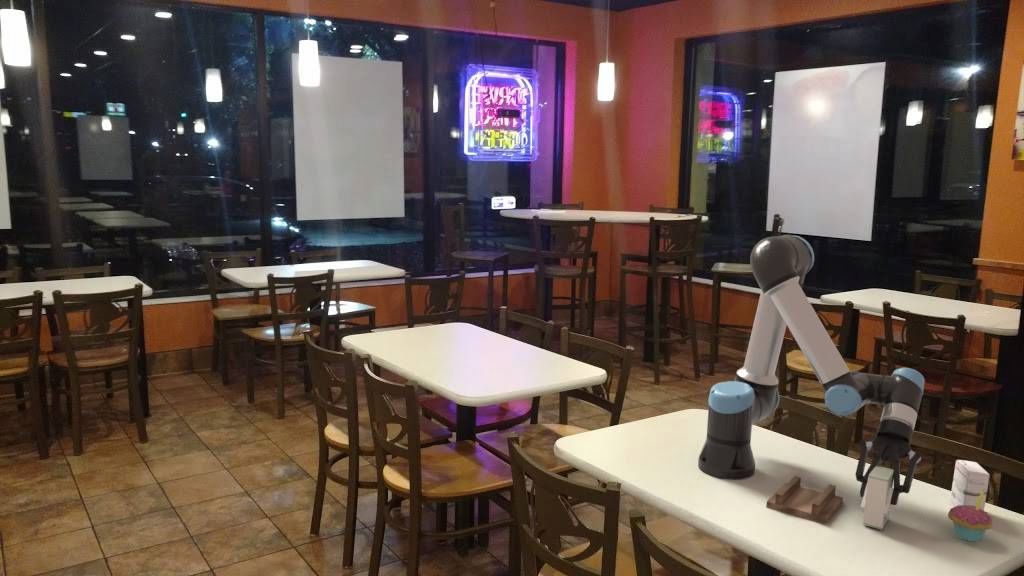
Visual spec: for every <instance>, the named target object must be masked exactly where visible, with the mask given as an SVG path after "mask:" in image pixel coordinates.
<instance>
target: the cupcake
mask: <svg viewBox="0 0 1024 576" xmlns="http://www.w3.org/2000/svg"><path fill="white" fill-rule="evenodd" d="M984 490H985V489H984ZM984 490H983V491H981V494H980V497H979V500H978V503H977V506H973V505H971V506H970V505H969V506H967V505H965V506H964V505H960V506H955V507H953V508H952V507H951V508H950V509H949V512H948V513H947V517H948V518H949V520H950V521H952V523H953V526H954V531H955V535H956V536H957V537H958V538H959V539H961V540H965V541H967V540H968V541H967V542H974V541H975V542H979V541H981V539H982V537H983V535H985V534H984V533H985V532H986V531H987V530H990V529H991V528H992V526H993V517H991V516H990V514H988V513H987V512H986V511H985V509H984V510H982V509H980V505H981V502H982V499H983V496H984V493H985V492H984Z"/></svg>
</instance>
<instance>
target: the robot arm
mask: <svg viewBox="0 0 1024 576" xmlns="http://www.w3.org/2000/svg"><path fill="white" fill-rule="evenodd" d="M749 261H750V264H749V265H750V268H751V270H752V271H751V272H752V273H753V276H754V278H755V280H756V282H757V284H758V286H759V288H760V290H761V291H760V295H759V299H758V302H757V303H758V304H757V309H756V313H755V317H754V321H753V325H752V329H751V334H750V338H749V342H748V347H747V350H746V351H747V352H746V355H745V359H744V363H743V366H742V367H740V368H739V369H737V371H736V373H735V374H736V375H735V377H734V380H730V381H729V380H728V381H722V382H717V383H716V384H714V385H713V386H711V388H710V391H709V396H708V409H707V425H706V427H707V428H706V438H705V441H704V444H703V447H702V449H701V451H700V453H699V456H698V460H697V461H698V464H697V467H698V466H699V467H698V468H699V469H700V470H701V472H703V473H705V474H707V473H708V474H707V475H711V476H713V477H717V478H722V479H729V480H730V479H731V480H742V479H749V478H751V477H753V476H754V475H755V473H756V461H755V458H754V453H753V450H752V445H751V441H752V429H753V425H755V424H757V423H759V422H761V421H763V420H765V419H768V418H769V417H770V416H772V414H773V413H774V412H775V411H776V410H777V408H778V407H779V403H780V392H779V390H778V386H779V381H780V380H779V379H778V377H777V376H776V370H777V365H778V362H779V357H780V353H781V349H782V347H783V341H784V337H785V334H786V333H785V332H786V328H788V330H789V331H790V333H791V334H792V336H793V338H794V340H795V341H796V343H797V345H798V347H799V349H800V350H801V352H802V354H803V355H804V357H805V359H806V361H807V362H808V363H809V366H810V368H811V369H812V371H813V372H814V374H815V376H816V378H817V379H818V381H819V383H820V384H821V386H822V388H823V390H824V391H825V395H824V403H825V406H826V408H827V409H828V410H829V411H830V412H831V413H832V414H835V415H837V416H841V417H842V416H848V415H852V414H854V413H856V412H857V411H859V409H861V408H862V407H864V406H865V405H867V404H874V405H880V406H883V409H882V412H881V417H880V422H879V424H878V428H877V431H876V434H875V437H874V438H873V439H872V441H866V440H863V439H862V440H860V441H859V442H860V454H859V458H858V462H857V466H856V470H855V479H856V481H857V482H860V483H861V486H860V489H859V494H860V495H859V496H860V498H861V497H862V500H861V505H860V509H861V510H860V511H861V512H862V513H864V509H865V500H866V491H867V482H868V476H869V474H870V473H871V472H872V470H873V469H874V468H875V467H876V466H881V465H882V463H883V462H884V461H889V462H891V463H892V464H893V469H894V480H893V488H889V492H888V496H887V500H886V504H885V509H884V512H883V514H884V518H886V519H888V516H889V517H890V514H889V512H891V507H892V506H894V507H895V506H897V505H898V501H899V498H900V497H899V496H900V494H902V493H904V494H909V493H910V490H911V486H912V483H913V480H914V476H915V473H916V468H917V466H918V465H919V464H920V462H921V461H922V457H921V456H922V454H921V453H920V452H915V451H913V450H912V448H911V442H912V439H913V436H914V435H913V434H914V430H915V425H916V421H917V417H918V413H919V409H920V405H921V402H922V398H923V395H924V388H925V382H926V380H925V378H924V375H922V373H921V372H919V371H917V370H916V369H913V368H909V367H901V368H896V369H895V370H894V371H893V373H891V375H882V374H875V373H874V374H873V373H868V372H867V373H866V372H860V371H855V370H854V371H851V370H850V369H849V367H848V365H847V363H846V362H845V360H844V358H843V357H842V355H841V353H840V351H839V350H838V348H837V347H836V345H835V343H834V342H833V340H832V338H831V336H830V335H829V333H828V331H827V330H826V328H825V326H824V324H823V323H822V321H821V319H820V318H819V316H818V314H817V312H816V311H815V309H814V307H813V306H812V303H810V301H809V299H808V297H807V296H806V294H805V292H804V290H803V286H804V285H803V284H804V281H805V277H806V274H808V272H810V270H811V269H812V268H813V266H814V262H815V253H814V250H813V247H812V246H811V244H810V243H809V242H808V241H807V240H806V239H805V238H803V237H801V236H799V235H792V234H783V235H778V236H777V235H776V236H769V237H764V238H762V239H761V240H760V241H758V242H757V243H756V244H755V245H754V246H753V249H752V251H751V252H750V258H749ZM872 448H873V450H874V452H875V454H874V458H873V459H872V461H871V463H870V465H869V466H868V469H867V470H866V472H865V468H866V463H867V459H868V456H869V455H868V452H870V451H871V449H872ZM908 456H909V457H908ZM906 457H908V458H909V462H908V467H907V470H906V473H905V477H904V479H903V484H901V461H902V460H903V459H905V458H906ZM864 473H865V474H864ZM888 520H889V519H888Z"/></svg>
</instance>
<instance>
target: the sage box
mask: <svg viewBox="0 0 1024 576" xmlns="http://www.w3.org/2000/svg"><path fill="white" fill-rule="evenodd" d="M889 488H893V489H894V468H890V467H889V468H888V467H884V466H881V465H880V466H876V467H875V468H874V469H873V470H872V472H871V473H870V474H869V476H868V482H867V491H866V500H865V509H864V512H863V518H862V524H863V525H864V526H866V527H867V526H868V527H871V528H874V529H878V530H883V528H884V527H885V525H886V524H887V522H888V520H889V519H890V512H891V511H890V512H889V516H888V519H886V518H884V514H883V512H884V509H885V504H886V500H887V496H888V492H889Z"/></svg>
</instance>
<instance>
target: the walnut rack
mask: <svg viewBox="0 0 1024 576" xmlns="http://www.w3.org/2000/svg"><path fill="white" fill-rule="evenodd" d="M801 480H802V477H801V476H800V475H799V476H798V475H794V476H792V478H790V480H788V481H787V482H785V483H784V484H783V485H782V486H781V487H780V488H779V489H778V490H777V491H776V492H775V493H774V494H773V495H772V496H771V497H770V498H769V499H767V501H766V508H768V509H772V510H776V511H778V512H783V513H786V514H790V515H793V516H797V517H801V518H803V519H808V520H811V521H815V522H818V523H822V524H825V525H826V524H828V522H829V521H830V520H831V519H832V518H833V516H834V515H835V514H836V512H837V511H838V510H839V509H840V508H841V506H842V505H843V503H844V497H843V496H840V495H836V489H837V485H834V484H831V483H830V484H828V485H827V486H826V488H824V490H823V491H821V490H817V489H812V488H808V487H804V486H801Z"/></svg>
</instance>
